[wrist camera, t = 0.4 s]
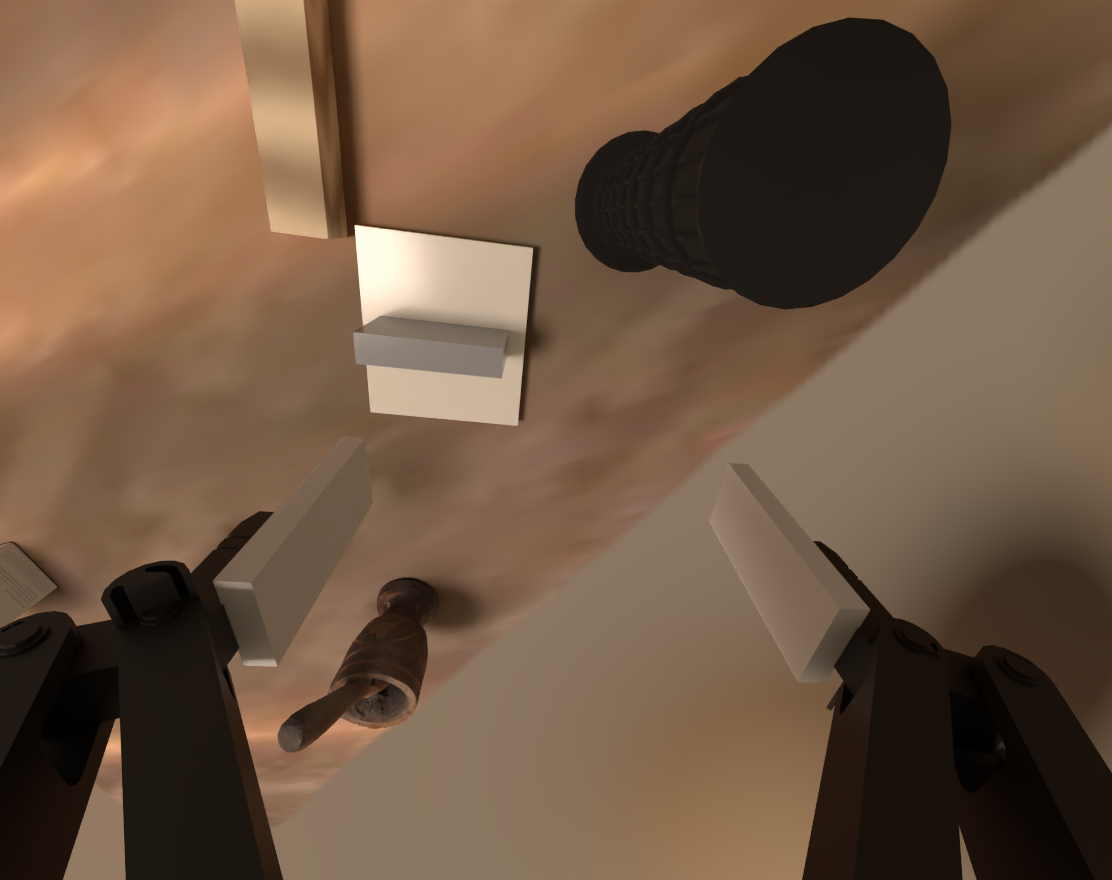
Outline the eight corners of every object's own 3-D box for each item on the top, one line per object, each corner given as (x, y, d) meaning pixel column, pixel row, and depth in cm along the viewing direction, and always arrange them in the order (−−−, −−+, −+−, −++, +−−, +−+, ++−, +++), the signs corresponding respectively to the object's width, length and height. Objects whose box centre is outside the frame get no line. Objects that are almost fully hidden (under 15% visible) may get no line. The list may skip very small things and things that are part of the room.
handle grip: (583, 122, 32) (568, 265, 36) (706, -147, 8) (620, 352, 13) (712, 139, 33) (682, 277, 37) (1157, -65, 9) (927, 379, 14)
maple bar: (250, -137, 26) (204, -194, 22) (319, -123, 26) (285, -176, 23) (298, 229, 35) (271, 231, 31) (349, 236, 35) (328, 239, 32)
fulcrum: (360, 224, 34) (319, 226, 28) (533, 247, 36) (532, 253, 29) (374, 407, 42) (345, 441, 35) (518, 420, 43) (514, 455, 36)
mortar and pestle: (338, 589, 53) (235, 778, 35) (375, 548, 50) (285, 730, 32) (417, 630, 56) (361, 819, 39) (456, 594, 54) (416, 779, 36)
